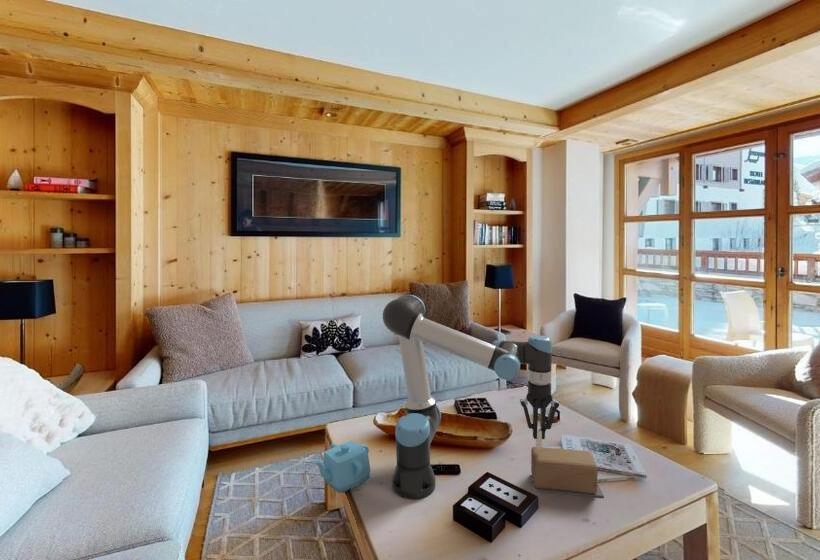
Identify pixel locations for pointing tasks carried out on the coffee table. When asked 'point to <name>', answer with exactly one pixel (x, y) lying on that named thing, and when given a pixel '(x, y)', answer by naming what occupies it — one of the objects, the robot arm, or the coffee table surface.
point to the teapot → (345, 465)
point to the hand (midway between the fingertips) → (538, 447)
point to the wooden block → (564, 470)
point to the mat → (552, 491)
